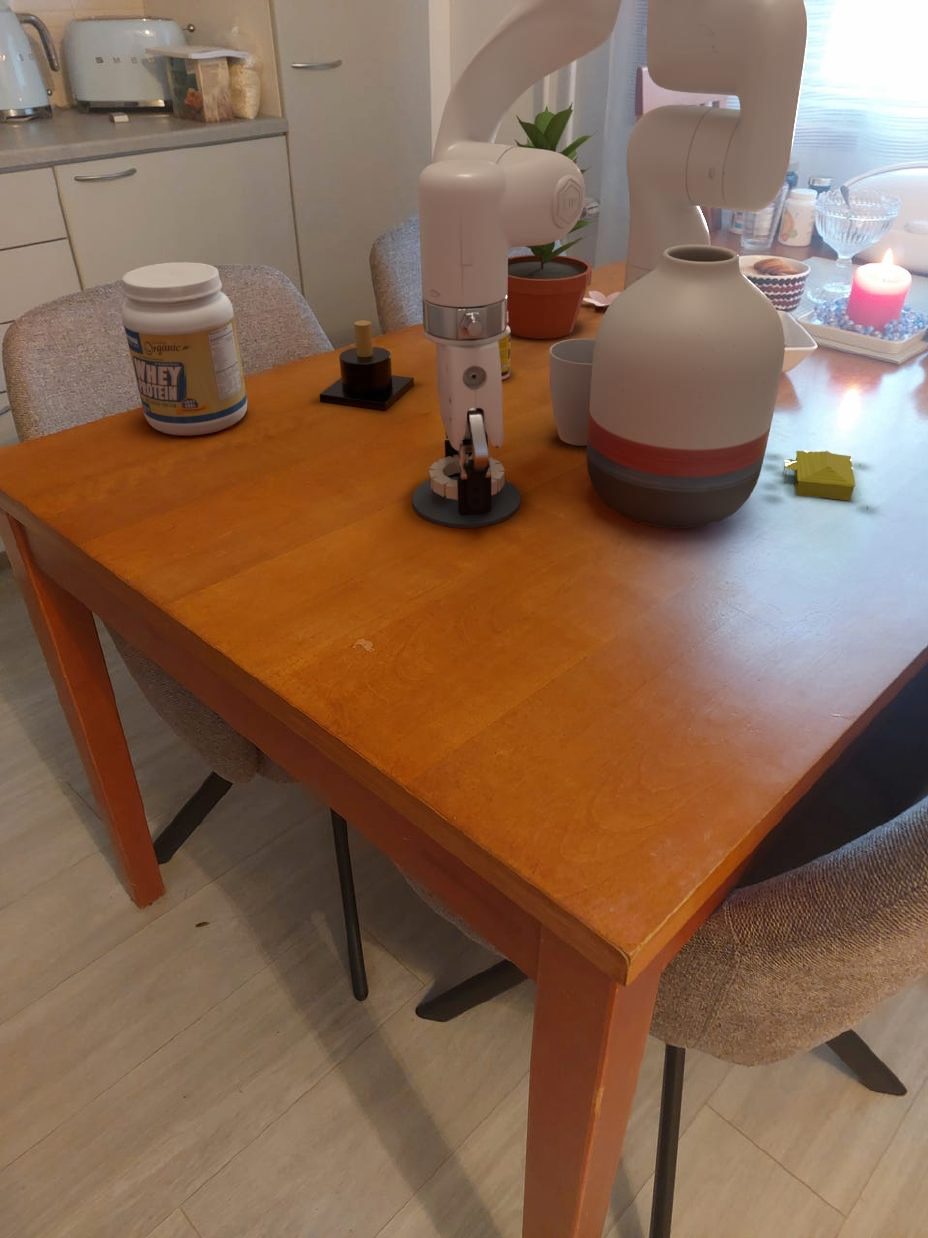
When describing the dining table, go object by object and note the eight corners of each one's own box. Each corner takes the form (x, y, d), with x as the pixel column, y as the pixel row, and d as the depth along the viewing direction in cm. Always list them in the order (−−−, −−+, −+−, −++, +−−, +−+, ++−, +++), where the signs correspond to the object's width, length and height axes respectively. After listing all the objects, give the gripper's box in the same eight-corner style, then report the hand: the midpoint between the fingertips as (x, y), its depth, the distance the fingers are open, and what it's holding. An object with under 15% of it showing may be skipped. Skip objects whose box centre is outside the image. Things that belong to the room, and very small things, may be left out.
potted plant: (521, 307, 143) (527, 90, 126) (605, 323, 136) (624, 96, 118) (467, 331, 133) (466, 101, 116) (555, 351, 126) (567, 108, 109)
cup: (622, 427, 105) (630, 342, 99) (608, 455, 98) (616, 367, 93) (555, 418, 107) (559, 335, 101) (537, 446, 101) (540, 359, 95)
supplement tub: (125, 432, 105) (88, 284, 95) (182, 394, 114) (154, 256, 104) (216, 444, 102) (188, 293, 92) (267, 404, 111) (246, 263, 101)
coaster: (534, 485, 93) (534, 481, 93) (500, 536, 84) (500, 531, 84) (436, 470, 96) (436, 465, 96) (394, 517, 88) (394, 512, 87)
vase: (787, 526, 85) (847, 269, 72) (625, 554, 82) (655, 288, 68) (700, 453, 99) (737, 224, 85) (557, 474, 95) (571, 238, 81)
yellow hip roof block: (867, 509, 88) (875, 483, 86) (771, 498, 90) (776, 472, 88) (860, 465, 96) (866, 441, 94) (771, 456, 98) (776, 432, 96)
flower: (625, 318, 138) (626, 308, 137) (564, 310, 141) (564, 300, 140) (643, 301, 145) (644, 291, 144) (584, 294, 148) (585, 284, 148)
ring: (513, 472, 91) (513, 459, 90) (489, 505, 85) (489, 492, 84) (446, 461, 93) (445, 449, 92) (418, 493, 87) (417, 480, 87)
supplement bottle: (515, 379, 117) (516, 314, 112) (481, 384, 116) (481, 319, 111) (502, 367, 121) (502, 304, 116) (469, 371, 120) (468, 308, 115)
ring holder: (414, 385, 116) (410, 315, 111) (385, 410, 109) (380, 337, 104) (351, 377, 119) (345, 308, 114) (320, 401, 112) (312, 329, 107)
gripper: (527, 345, 73) (522, 532, 83) (488, 286, 87) (488, 453, 97) (437, 352, 72) (443, 540, 82) (411, 291, 86) (419, 459, 96)
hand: (467, 492), depth 90 cm, fingers closed on ring, 7 cm apart
